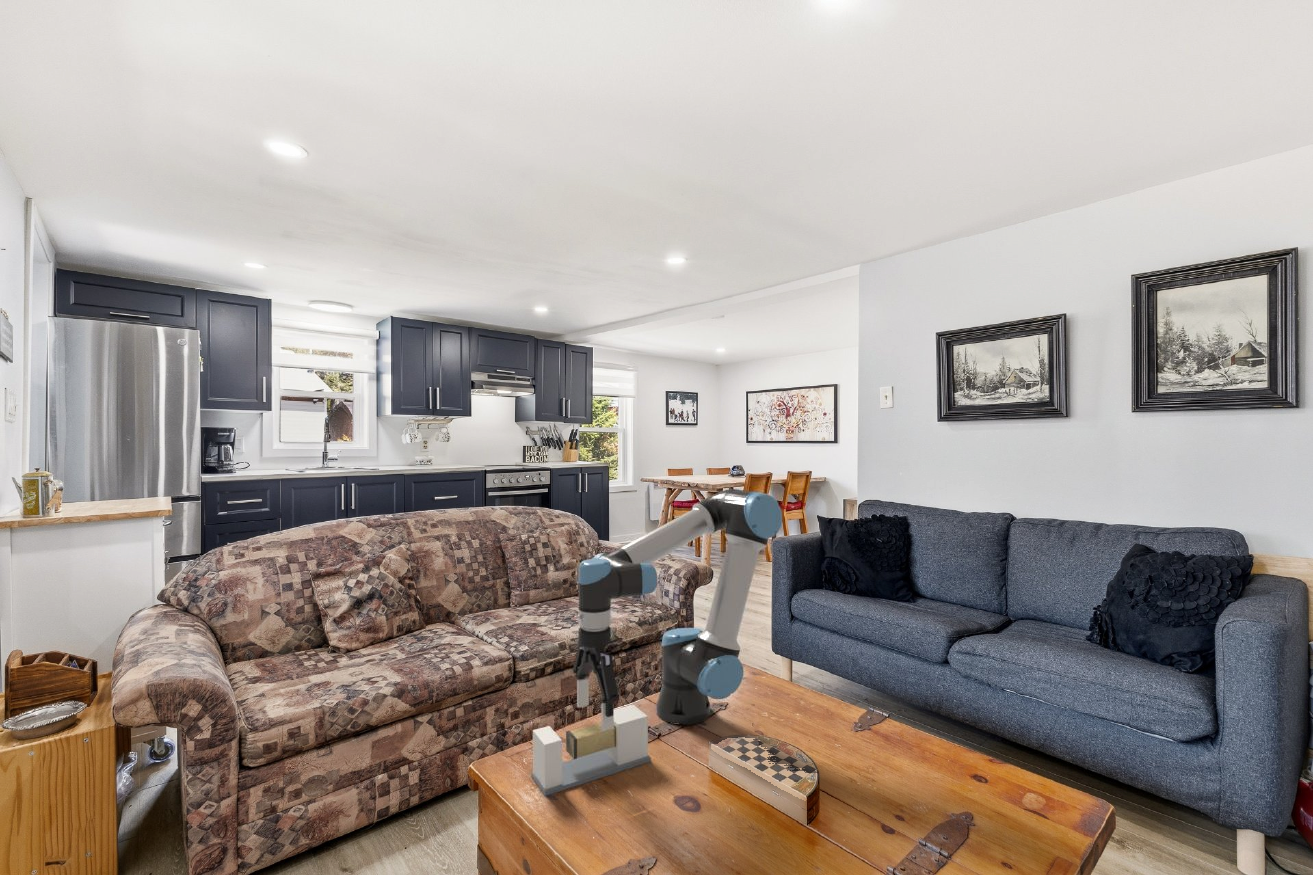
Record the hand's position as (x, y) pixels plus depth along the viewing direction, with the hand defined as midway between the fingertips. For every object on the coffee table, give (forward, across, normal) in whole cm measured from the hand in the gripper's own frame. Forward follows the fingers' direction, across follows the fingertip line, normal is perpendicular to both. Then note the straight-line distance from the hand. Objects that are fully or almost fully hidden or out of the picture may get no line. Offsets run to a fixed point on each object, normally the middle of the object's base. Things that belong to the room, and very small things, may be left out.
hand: (594, 717), depth 143 cm
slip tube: (+7, 0, +3) cm, 8 cm away
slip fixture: (+12, 0, -1) cm, 12 cm away
